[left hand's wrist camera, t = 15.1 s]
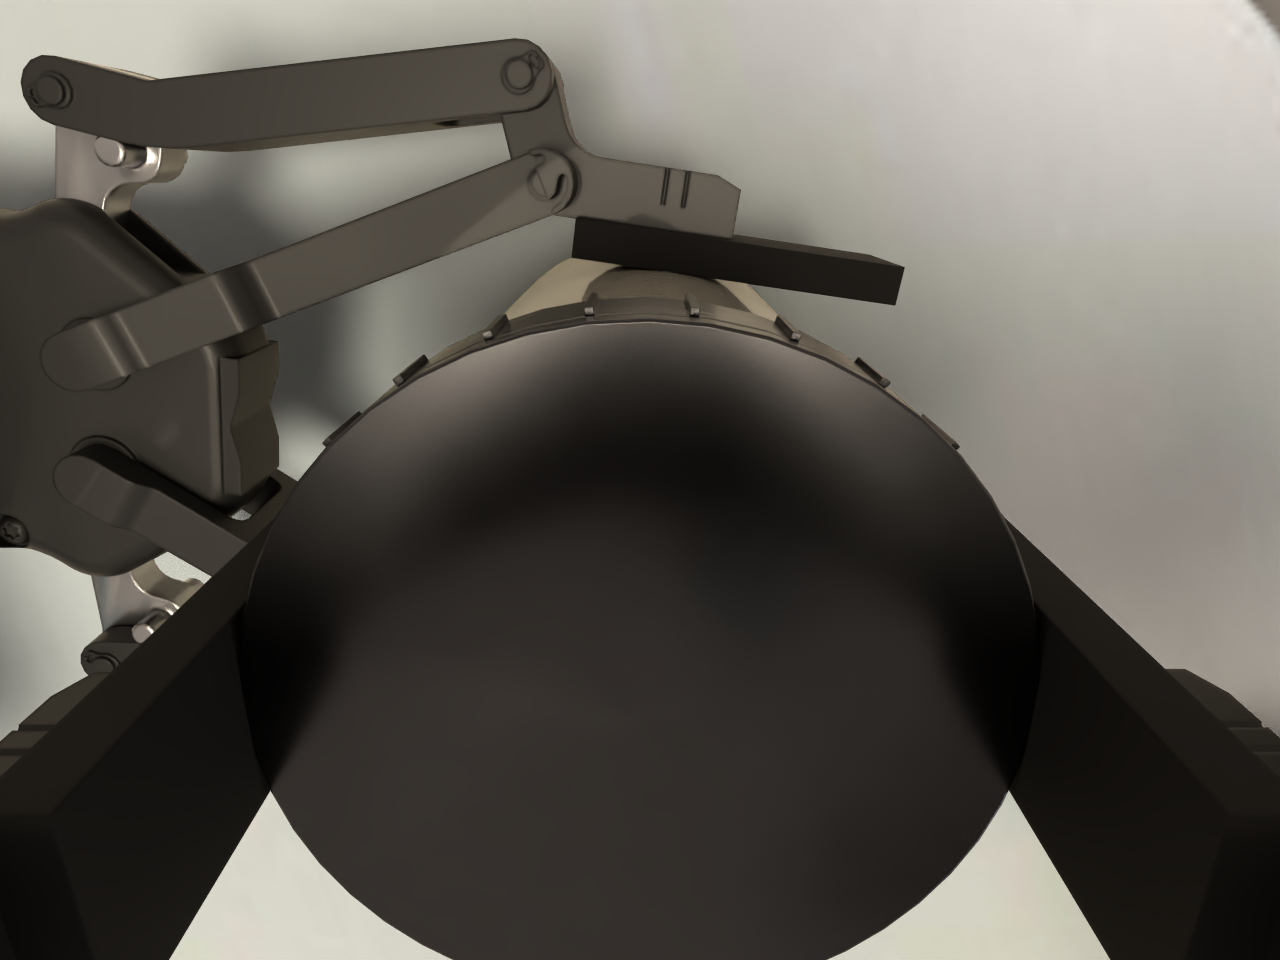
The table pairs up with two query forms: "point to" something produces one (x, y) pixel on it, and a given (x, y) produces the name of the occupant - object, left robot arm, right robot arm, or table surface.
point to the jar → (631, 288)
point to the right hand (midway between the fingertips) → (829, 494)
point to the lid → (639, 644)
